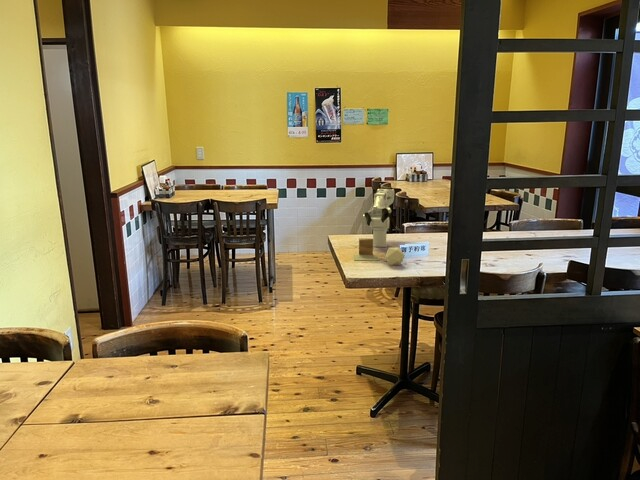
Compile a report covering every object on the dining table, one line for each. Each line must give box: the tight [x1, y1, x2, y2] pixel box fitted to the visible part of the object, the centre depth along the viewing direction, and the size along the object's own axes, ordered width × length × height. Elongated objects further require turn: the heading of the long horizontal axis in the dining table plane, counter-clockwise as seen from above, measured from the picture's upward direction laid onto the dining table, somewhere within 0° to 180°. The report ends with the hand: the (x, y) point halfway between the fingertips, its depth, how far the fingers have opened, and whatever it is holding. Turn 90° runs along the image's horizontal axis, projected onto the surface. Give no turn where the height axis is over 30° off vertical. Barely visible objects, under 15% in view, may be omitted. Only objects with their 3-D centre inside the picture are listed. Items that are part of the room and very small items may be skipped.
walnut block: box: [358, 238, 374, 255], centre depth 237 cm, size 4×7×8 cm, turn 86°
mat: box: [353, 254, 380, 262], centre depth 231 cm, size 9×12×1 cm
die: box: [384, 247, 405, 266], centre depth 220 cm, size 8×9×10 cm
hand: (375, 222), depth 233 cm, fingers open, 7 cm apart
